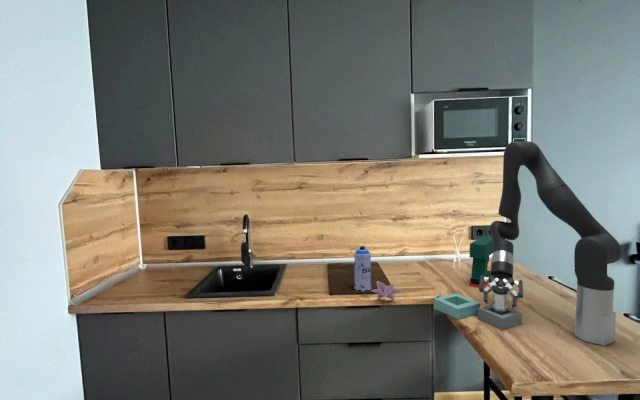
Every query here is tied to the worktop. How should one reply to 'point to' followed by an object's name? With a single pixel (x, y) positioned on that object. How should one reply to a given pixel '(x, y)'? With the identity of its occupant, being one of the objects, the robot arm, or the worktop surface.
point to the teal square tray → (456, 306)
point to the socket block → (500, 317)
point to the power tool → (480, 259)
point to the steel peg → (500, 299)
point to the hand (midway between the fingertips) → (499, 304)
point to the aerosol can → (362, 269)
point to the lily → (385, 291)
